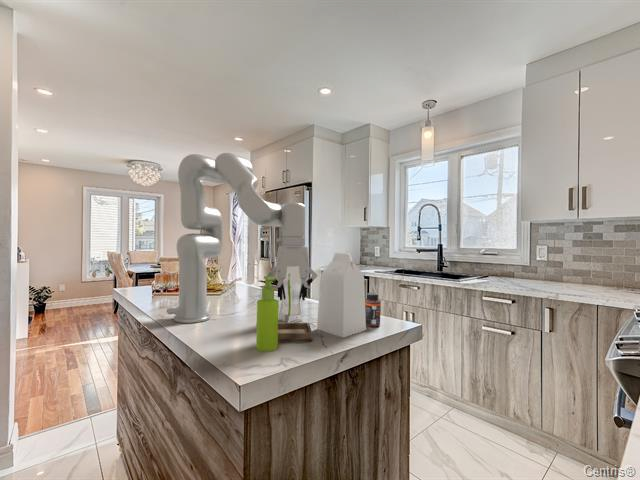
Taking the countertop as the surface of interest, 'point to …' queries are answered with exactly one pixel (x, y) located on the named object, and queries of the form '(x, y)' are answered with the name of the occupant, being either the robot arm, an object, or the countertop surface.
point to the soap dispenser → (267, 318)
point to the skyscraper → (286, 318)
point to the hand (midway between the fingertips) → (292, 299)
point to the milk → (341, 297)
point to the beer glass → (292, 291)
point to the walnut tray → (294, 332)
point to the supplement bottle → (372, 310)
